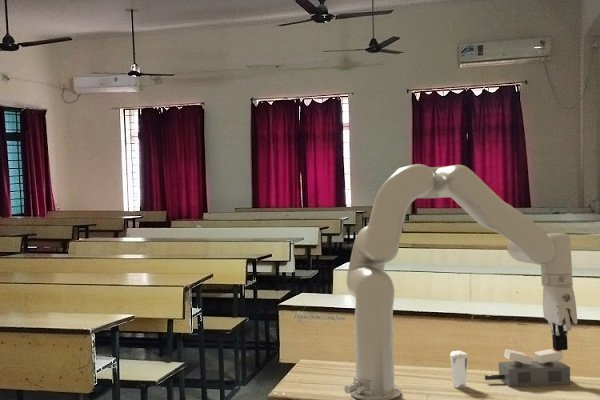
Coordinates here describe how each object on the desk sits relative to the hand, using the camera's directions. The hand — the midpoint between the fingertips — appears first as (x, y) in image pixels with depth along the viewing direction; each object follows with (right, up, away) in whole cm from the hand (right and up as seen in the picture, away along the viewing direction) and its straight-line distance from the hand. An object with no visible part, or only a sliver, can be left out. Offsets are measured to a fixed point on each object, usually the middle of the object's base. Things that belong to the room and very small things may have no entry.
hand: (560, 349), depth 158 cm
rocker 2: (-3, -2, 0) cm, 4 cm away
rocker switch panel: (-9, -8, 0) cm, 13 cm away
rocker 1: (-11, -2, -1) cm, 11 cm away
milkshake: (-27, -9, -3) cm, 29 cm away
